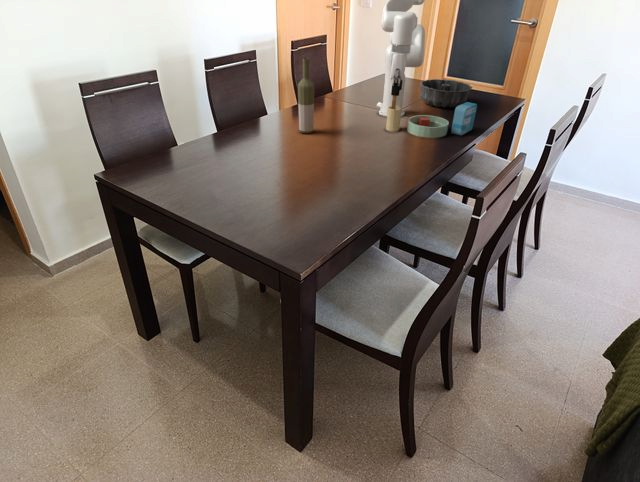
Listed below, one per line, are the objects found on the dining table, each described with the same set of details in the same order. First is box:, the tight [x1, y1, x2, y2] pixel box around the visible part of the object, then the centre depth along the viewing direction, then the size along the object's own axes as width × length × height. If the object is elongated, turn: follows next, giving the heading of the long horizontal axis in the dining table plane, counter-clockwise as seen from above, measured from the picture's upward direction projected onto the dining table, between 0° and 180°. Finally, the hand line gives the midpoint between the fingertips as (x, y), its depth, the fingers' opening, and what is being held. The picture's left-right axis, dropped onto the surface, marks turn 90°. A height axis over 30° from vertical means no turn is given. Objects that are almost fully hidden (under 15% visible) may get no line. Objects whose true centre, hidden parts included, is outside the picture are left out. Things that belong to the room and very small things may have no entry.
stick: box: [392, 96, 397, 109], centre depth 185 cm, size 2×2×16 cm
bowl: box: [406, 114, 449, 139], centre depth 187 cm, size 17×17×5 cm
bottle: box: [297, 57, 315, 134], centre depth 179 cm, size 7×7×30 cm
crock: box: [385, 106, 403, 132], centre depth 187 cm, size 6×6×10 cm
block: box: [418, 117, 430, 127], centre depth 192 cm, size 4×4×4 cm
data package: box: [450, 101, 478, 137], centre depth 186 cm, size 12×4×12 cm, turn 138°
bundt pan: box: [419, 78, 473, 109], centre depth 225 cm, size 26×26×10 cm
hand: (396, 92), depth 181 cm, fingers open, 9 cm apart
